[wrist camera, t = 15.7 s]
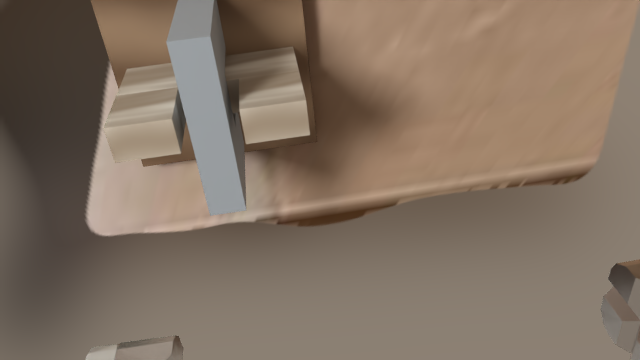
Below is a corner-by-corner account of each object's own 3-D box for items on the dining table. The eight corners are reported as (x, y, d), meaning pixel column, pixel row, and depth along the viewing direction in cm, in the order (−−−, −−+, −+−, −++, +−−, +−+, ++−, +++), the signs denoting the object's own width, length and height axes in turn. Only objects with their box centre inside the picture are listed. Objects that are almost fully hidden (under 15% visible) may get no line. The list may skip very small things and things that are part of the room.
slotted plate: (179, -5, 38) (166, 41, 31) (214, -9, 39) (210, 36, 31) (214, 147, 45) (210, 215, 38) (244, 143, 45) (246, 210, 38)
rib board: (91, -18, 39) (50, 34, 30) (295, -43, 39) (313, 0, 31) (145, 157, 47) (125, 238, 38) (314, 132, 47) (333, 207, 39)
